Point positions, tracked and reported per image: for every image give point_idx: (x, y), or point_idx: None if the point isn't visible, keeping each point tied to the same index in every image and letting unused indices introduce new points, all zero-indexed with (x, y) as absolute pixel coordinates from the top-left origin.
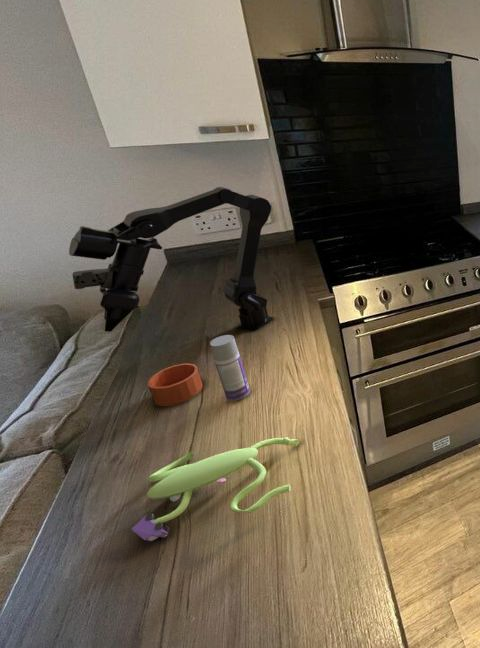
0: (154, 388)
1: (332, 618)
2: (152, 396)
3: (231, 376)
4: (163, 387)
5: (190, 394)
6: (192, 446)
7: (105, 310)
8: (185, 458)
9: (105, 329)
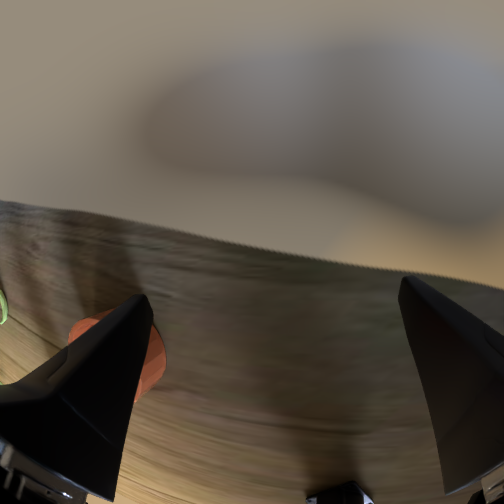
0: (74, 325)
1: None
2: (105, 311)
3: None
4: (69, 339)
5: None
6: (22, 325)
7: (434, 311)
8: (2, 315)
9: (128, 301)
